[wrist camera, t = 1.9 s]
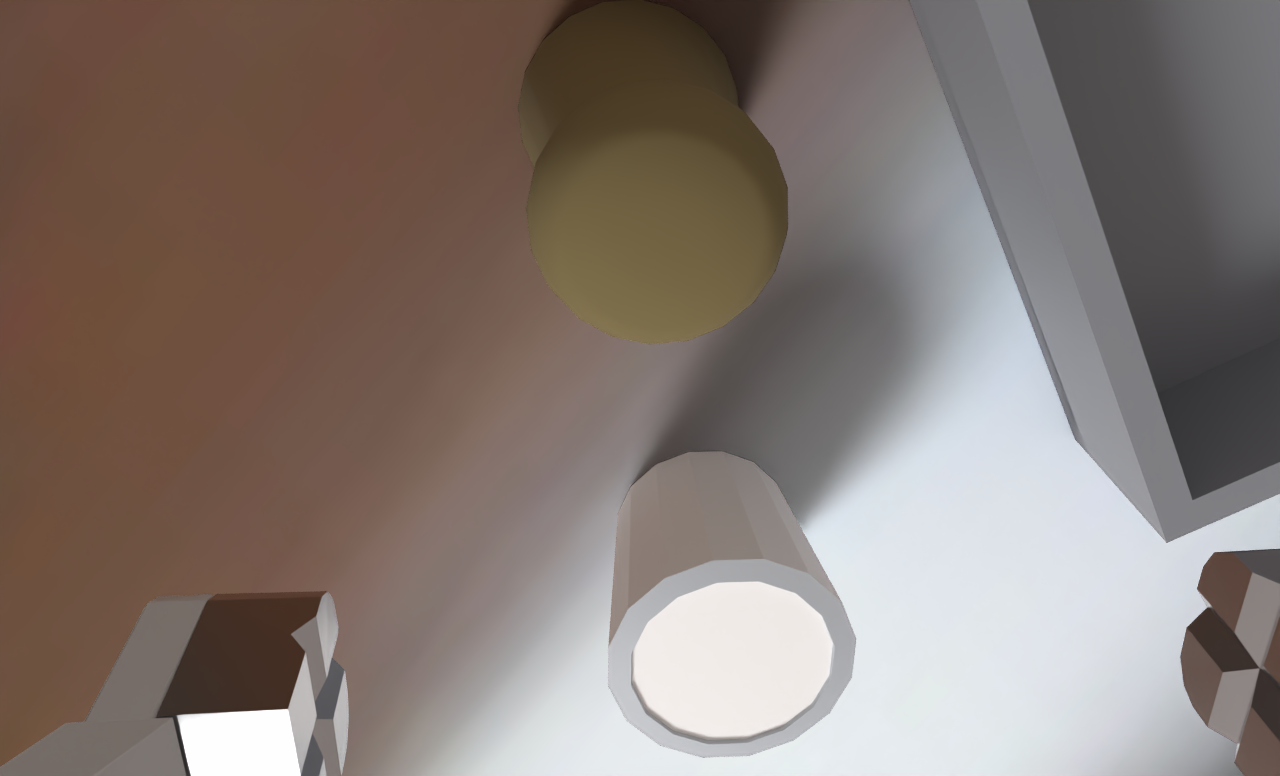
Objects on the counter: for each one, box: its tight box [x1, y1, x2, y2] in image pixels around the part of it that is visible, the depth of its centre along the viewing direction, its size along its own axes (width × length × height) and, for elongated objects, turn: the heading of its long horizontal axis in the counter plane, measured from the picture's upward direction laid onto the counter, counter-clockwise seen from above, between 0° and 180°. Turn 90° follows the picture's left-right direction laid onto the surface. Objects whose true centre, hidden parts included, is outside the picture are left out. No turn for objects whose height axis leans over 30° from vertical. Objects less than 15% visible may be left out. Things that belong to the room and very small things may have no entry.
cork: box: [518, 0, 788, 344], centre depth 26 cm, size 6×6×11 cm
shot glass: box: [608, 451, 856, 758], centre depth 33 cm, size 7×7×7 cm
